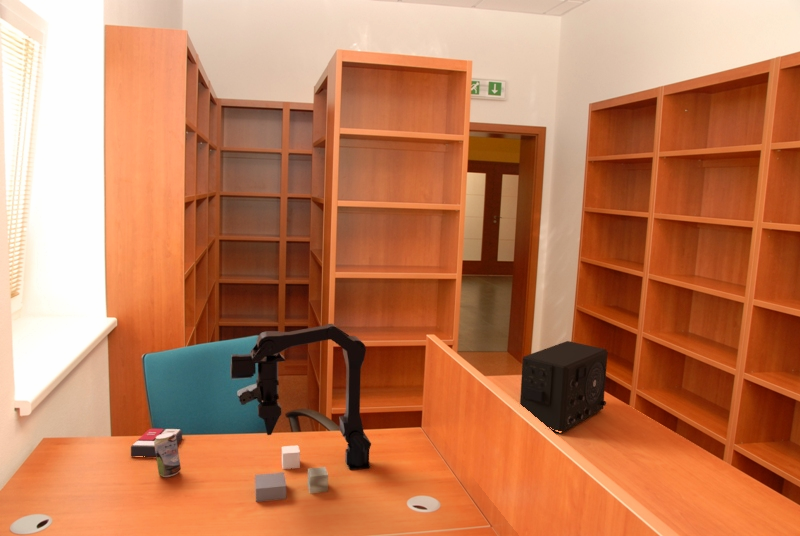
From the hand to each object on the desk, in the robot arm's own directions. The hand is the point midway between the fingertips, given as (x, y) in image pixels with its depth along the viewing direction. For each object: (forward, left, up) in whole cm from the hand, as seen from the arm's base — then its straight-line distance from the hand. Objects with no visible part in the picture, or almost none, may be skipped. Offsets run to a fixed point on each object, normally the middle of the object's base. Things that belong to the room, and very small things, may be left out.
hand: (268, 428), depth 177 cm
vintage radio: (-111, -23, -14) cm, 114 cm away
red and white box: (+33, -26, -15) cm, 44 cm away
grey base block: (0, +11, -14) cm, 18 cm away
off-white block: (-7, -5, -14) cm, 17 cm away
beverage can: (+28, -6, -14) cm, 32 cm away
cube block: (-13, +11, -14) cm, 22 cm away
